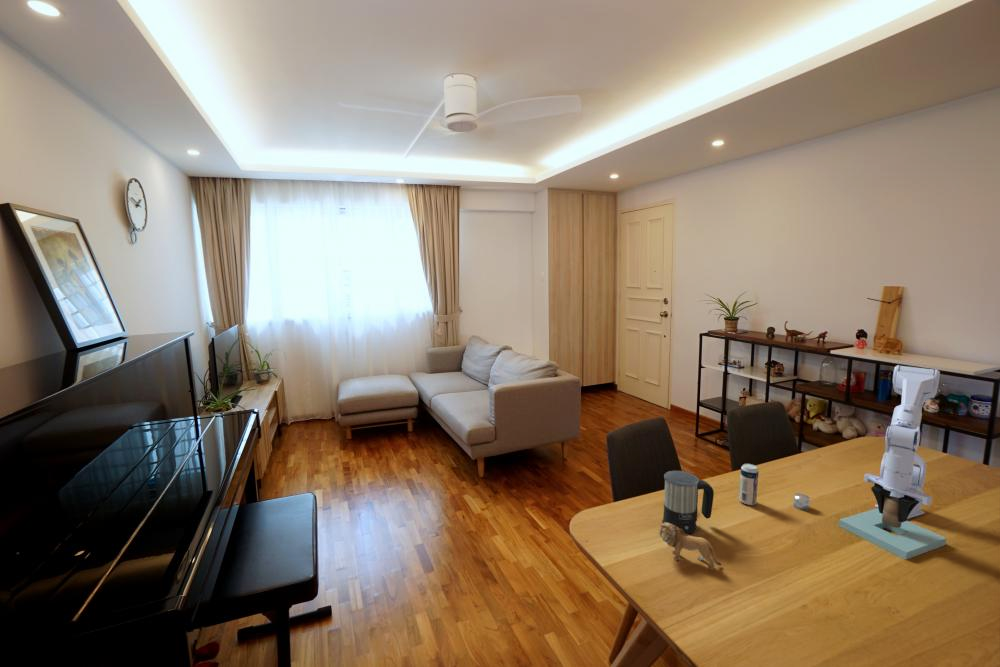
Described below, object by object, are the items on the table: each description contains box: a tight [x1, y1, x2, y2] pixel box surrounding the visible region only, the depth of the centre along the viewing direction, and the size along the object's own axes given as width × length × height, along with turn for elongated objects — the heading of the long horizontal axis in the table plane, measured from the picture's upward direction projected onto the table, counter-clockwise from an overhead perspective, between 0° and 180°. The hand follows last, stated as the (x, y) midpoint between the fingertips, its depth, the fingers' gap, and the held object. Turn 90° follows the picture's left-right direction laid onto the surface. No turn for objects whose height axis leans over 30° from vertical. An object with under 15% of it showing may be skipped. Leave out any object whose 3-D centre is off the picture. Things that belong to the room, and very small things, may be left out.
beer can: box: [738, 463, 760, 506], centre depth 139 cm, size 5×5×12 cm
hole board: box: [838, 507, 947, 560], centre depth 122 cm, size 17×16×2 cm
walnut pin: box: [882, 496, 902, 528], centre depth 121 cm, size 4×4×7 cm
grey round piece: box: [792, 492, 811, 511], centre depth 137 cm, size 4×4×4 cm
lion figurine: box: [658, 522, 722, 571], centre depth 112 cm, size 15×5×9 cm, turn 70°
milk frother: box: [661, 470, 715, 535], centre depth 130 cm, size 14×16×15 cm
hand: (892, 516), depth 121 cm, fingers closed on walnut pin, 4 cm apart
